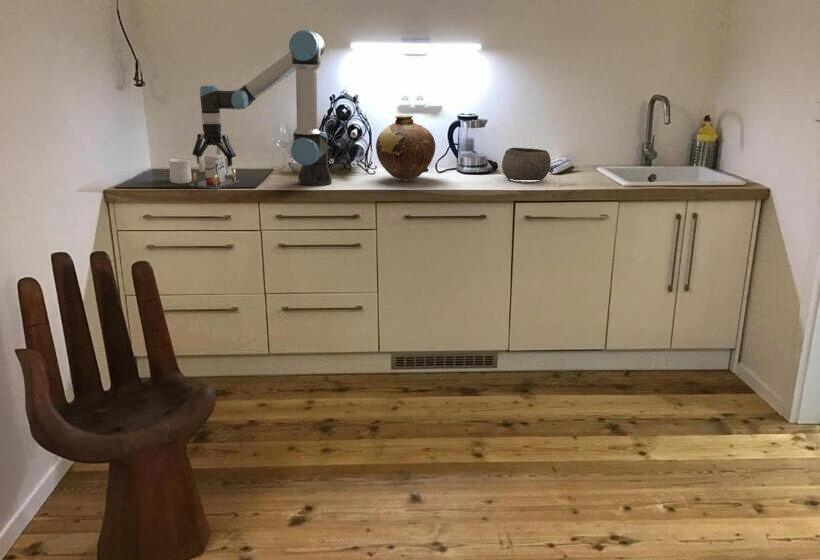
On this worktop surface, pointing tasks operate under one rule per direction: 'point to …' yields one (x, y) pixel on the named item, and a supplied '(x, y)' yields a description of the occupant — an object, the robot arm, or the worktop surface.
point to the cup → (180, 170)
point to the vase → (405, 148)
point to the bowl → (526, 164)
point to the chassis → (214, 182)
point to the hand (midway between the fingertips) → (215, 172)
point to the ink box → (214, 168)
